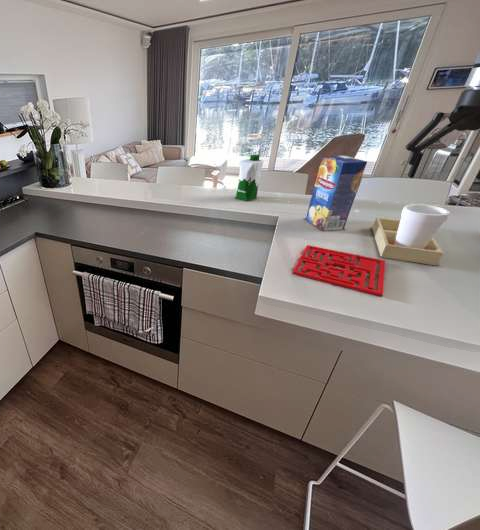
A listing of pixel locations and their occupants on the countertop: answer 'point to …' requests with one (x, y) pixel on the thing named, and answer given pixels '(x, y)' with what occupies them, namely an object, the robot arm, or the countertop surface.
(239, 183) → the milk carton
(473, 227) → the countertop surface
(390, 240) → the divided tray
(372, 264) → the maze puzzle
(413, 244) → the foam cup
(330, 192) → the juice carton
